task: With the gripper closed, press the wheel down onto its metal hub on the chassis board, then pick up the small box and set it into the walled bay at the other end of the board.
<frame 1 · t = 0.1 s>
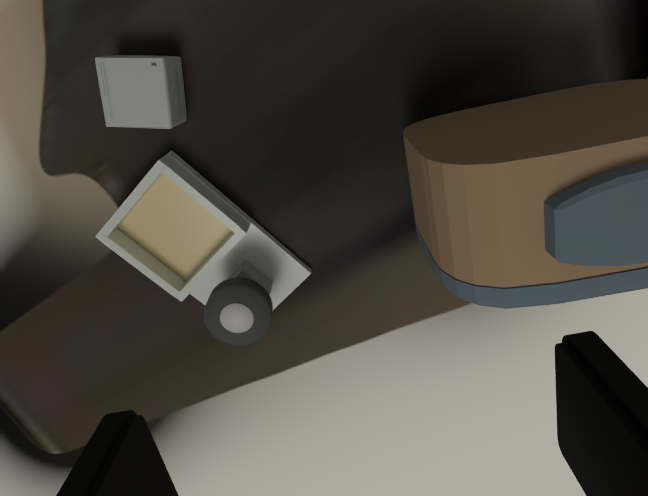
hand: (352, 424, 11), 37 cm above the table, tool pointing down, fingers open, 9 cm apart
small box: (154, 88, 44), on the table
chassis: (212, 247, 50), on the table
alarm clock: (506, 150, 46), on the table
wheel: (240, 305, 45), point 6 cm above the table, slide at 0.0 cm
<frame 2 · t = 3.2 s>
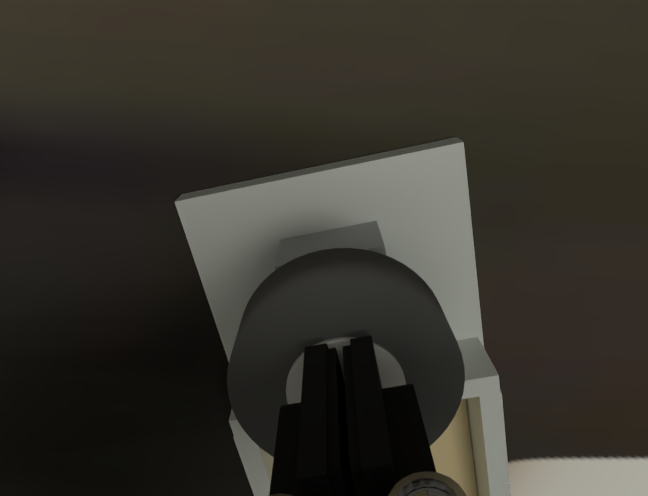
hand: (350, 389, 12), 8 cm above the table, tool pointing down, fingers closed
chassis: (359, 364, 21), on the table
wheel: (342, 340, 14), point 6 cm above the table, slide at 0.2 cm, touching gripper
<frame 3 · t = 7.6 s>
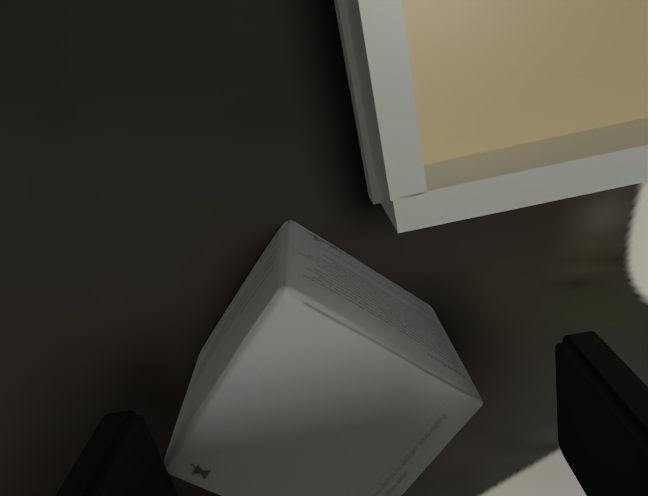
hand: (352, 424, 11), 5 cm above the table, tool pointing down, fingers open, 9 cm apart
small box: (315, 326, 16), on the table, touching gripper
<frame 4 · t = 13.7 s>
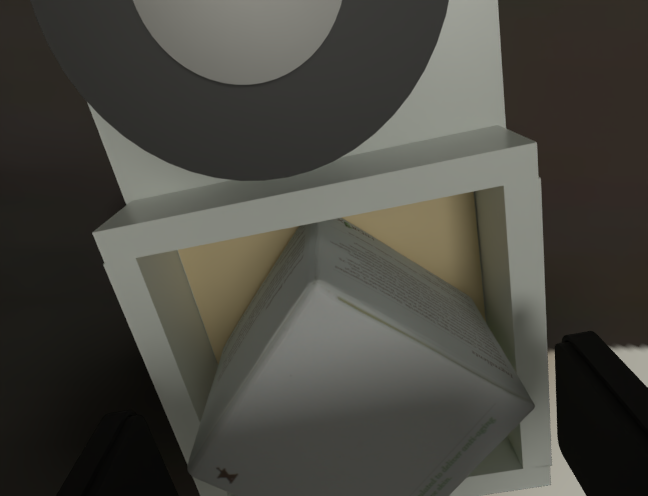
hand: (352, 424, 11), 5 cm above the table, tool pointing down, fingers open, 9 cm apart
small box: (345, 318, 15), point 1 cm above the table, touching chassis
chassis: (318, 191, 14), on the table
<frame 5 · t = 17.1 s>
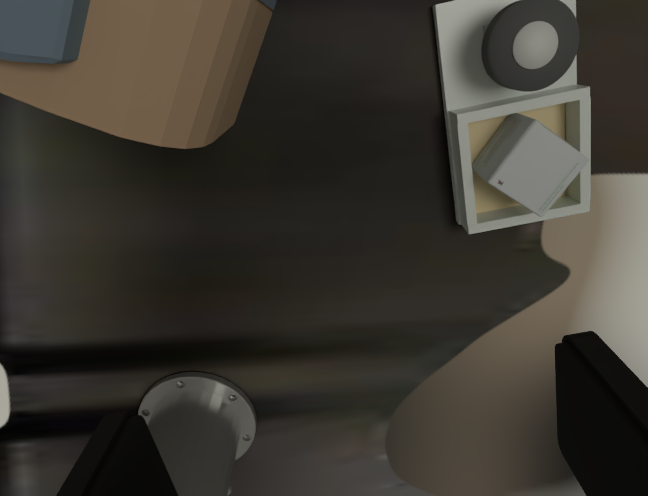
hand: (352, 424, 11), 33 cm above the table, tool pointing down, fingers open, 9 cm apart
small box: (514, 156, 41), point 1 cm above the table, touching chassis
chassis: (507, 109, 40), on the table
wheel: (522, 45, 35), point 4 cm above the table, slide at 1.9 cm
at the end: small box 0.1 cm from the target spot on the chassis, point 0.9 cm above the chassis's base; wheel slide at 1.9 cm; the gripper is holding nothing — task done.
